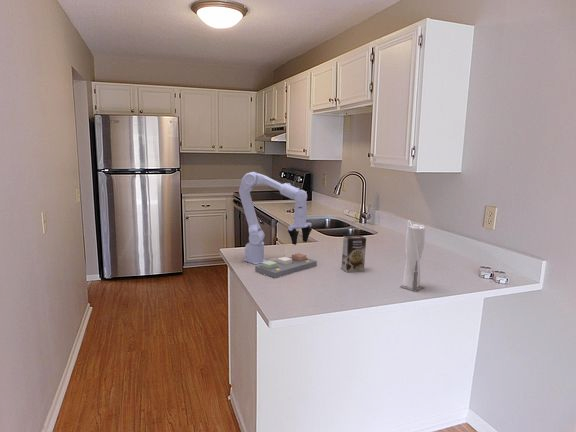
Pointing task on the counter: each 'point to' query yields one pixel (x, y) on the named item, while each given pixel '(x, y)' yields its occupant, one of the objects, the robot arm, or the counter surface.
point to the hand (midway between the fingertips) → (299, 243)
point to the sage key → (269, 265)
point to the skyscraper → (413, 257)
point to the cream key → (284, 261)
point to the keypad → (287, 268)
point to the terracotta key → (299, 257)
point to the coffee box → (353, 253)
